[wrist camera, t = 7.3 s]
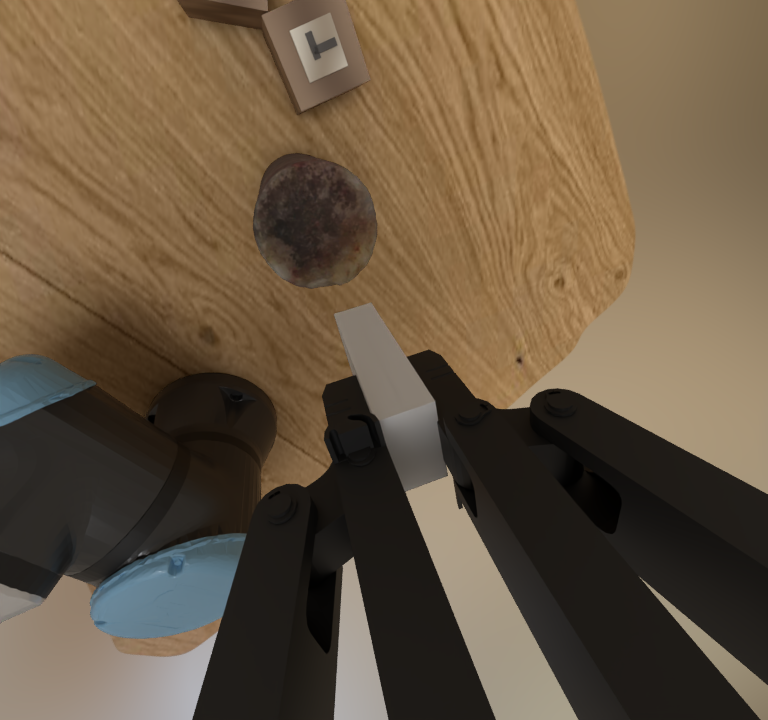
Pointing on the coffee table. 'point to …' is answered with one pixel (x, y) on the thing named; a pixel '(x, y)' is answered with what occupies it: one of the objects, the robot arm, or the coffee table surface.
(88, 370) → the coffee table surface
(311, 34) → the block two
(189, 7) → the block seven
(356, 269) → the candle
